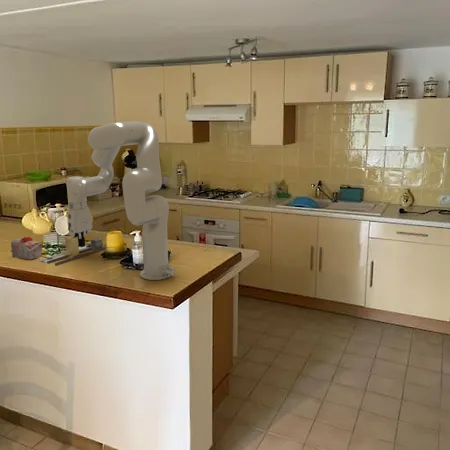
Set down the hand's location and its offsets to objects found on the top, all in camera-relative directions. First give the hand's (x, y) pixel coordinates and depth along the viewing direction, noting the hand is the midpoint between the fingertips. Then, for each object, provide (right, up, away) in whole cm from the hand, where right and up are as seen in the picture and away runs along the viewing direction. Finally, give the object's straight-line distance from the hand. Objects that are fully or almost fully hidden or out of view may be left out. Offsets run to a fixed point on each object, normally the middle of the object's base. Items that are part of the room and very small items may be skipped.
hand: (81, 246), depth 203 cm
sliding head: (-5, -4, -2) cm, 7 cm away
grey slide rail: (-4, -5, +1) cm, 6 cm away
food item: (-23, -6, 0) cm, 24 cm away
